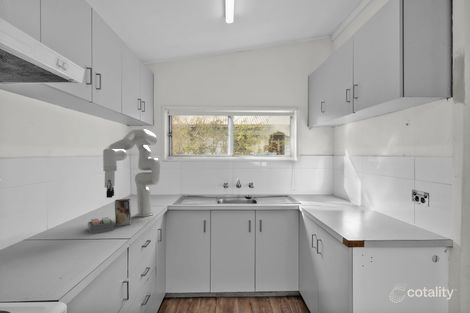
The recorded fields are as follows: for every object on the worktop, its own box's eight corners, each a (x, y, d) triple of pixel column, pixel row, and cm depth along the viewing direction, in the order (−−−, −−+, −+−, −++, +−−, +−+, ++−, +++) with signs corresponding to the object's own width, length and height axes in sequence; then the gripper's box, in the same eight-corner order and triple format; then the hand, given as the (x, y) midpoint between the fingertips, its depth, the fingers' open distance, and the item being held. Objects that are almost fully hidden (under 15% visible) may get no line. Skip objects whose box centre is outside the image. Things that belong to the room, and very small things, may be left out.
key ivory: (101, 223, 195) (101, 217, 195) (107, 222, 197) (107, 216, 197) (102, 224, 192) (102, 218, 192) (108, 223, 194) (108, 217, 194)
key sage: (103, 225, 190) (103, 219, 190) (109, 224, 192) (109, 218, 192) (104, 226, 187) (103, 220, 187) (110, 225, 189) (110, 219, 189)
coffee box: (131, 222, 207) (130, 198, 207) (130, 224, 201) (129, 200, 200) (117, 223, 205) (116, 199, 205) (115, 226, 199) (114, 200, 199)
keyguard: (88, 229, 193) (87, 221, 192) (110, 225, 199) (110, 218, 199) (90, 233, 181) (90, 225, 181) (114, 230, 188) (113, 222, 188)
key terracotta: (92, 226, 187) (92, 220, 187) (98, 225, 189) (98, 220, 188) (93, 227, 184) (92, 221, 184) (99, 226, 185) (99, 221, 185)
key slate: (91, 224, 192) (90, 219, 192) (97, 223, 194) (97, 218, 194) (91, 225, 189) (91, 220, 189) (98, 225, 191) (98, 219, 191)
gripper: (105, 168, 198) (105, 195, 198) (101, 169, 181) (101, 198, 181) (117, 168, 200) (118, 195, 200) (115, 168, 183) (115, 197, 183)
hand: (110, 196), depth 190 cm, fingers open, 9 cm apart
